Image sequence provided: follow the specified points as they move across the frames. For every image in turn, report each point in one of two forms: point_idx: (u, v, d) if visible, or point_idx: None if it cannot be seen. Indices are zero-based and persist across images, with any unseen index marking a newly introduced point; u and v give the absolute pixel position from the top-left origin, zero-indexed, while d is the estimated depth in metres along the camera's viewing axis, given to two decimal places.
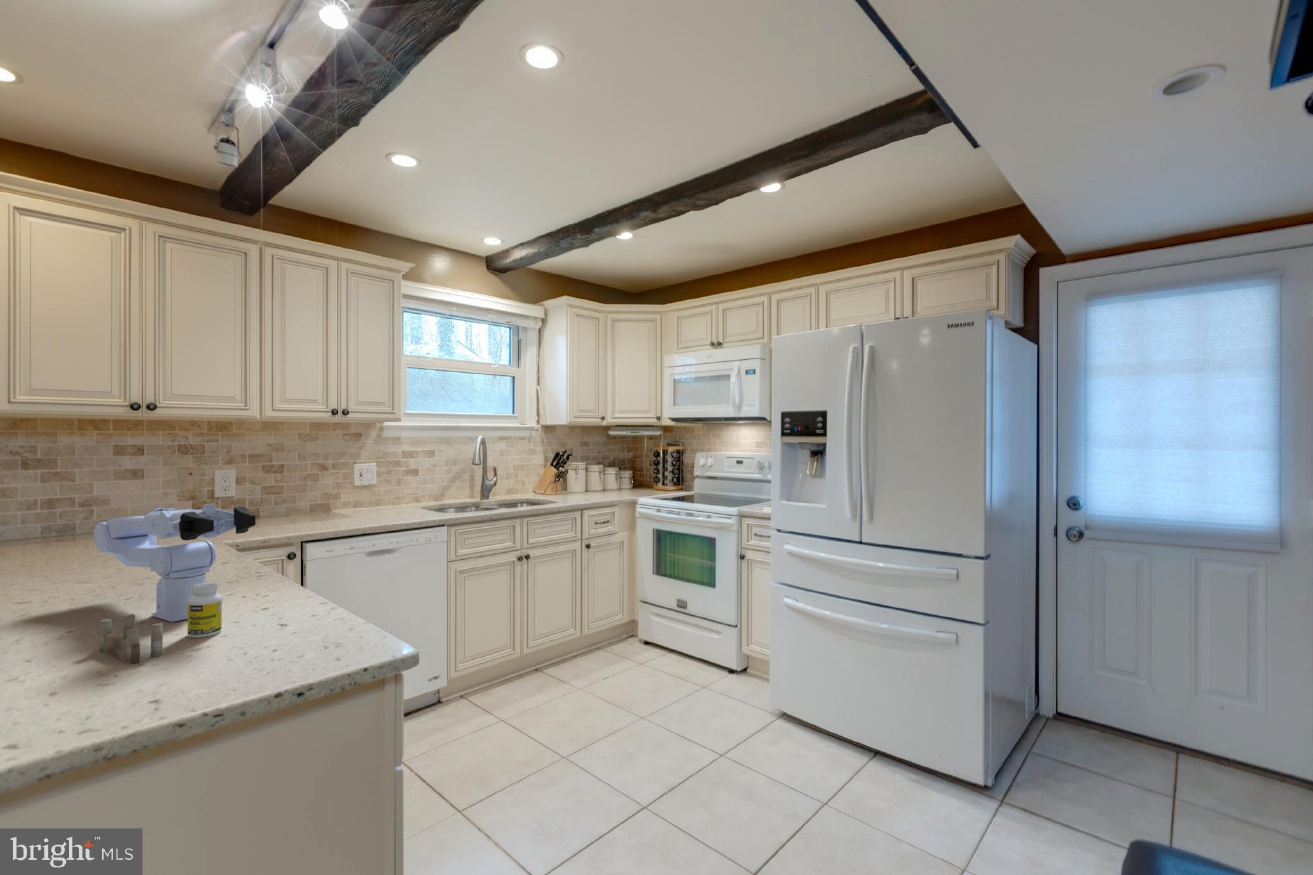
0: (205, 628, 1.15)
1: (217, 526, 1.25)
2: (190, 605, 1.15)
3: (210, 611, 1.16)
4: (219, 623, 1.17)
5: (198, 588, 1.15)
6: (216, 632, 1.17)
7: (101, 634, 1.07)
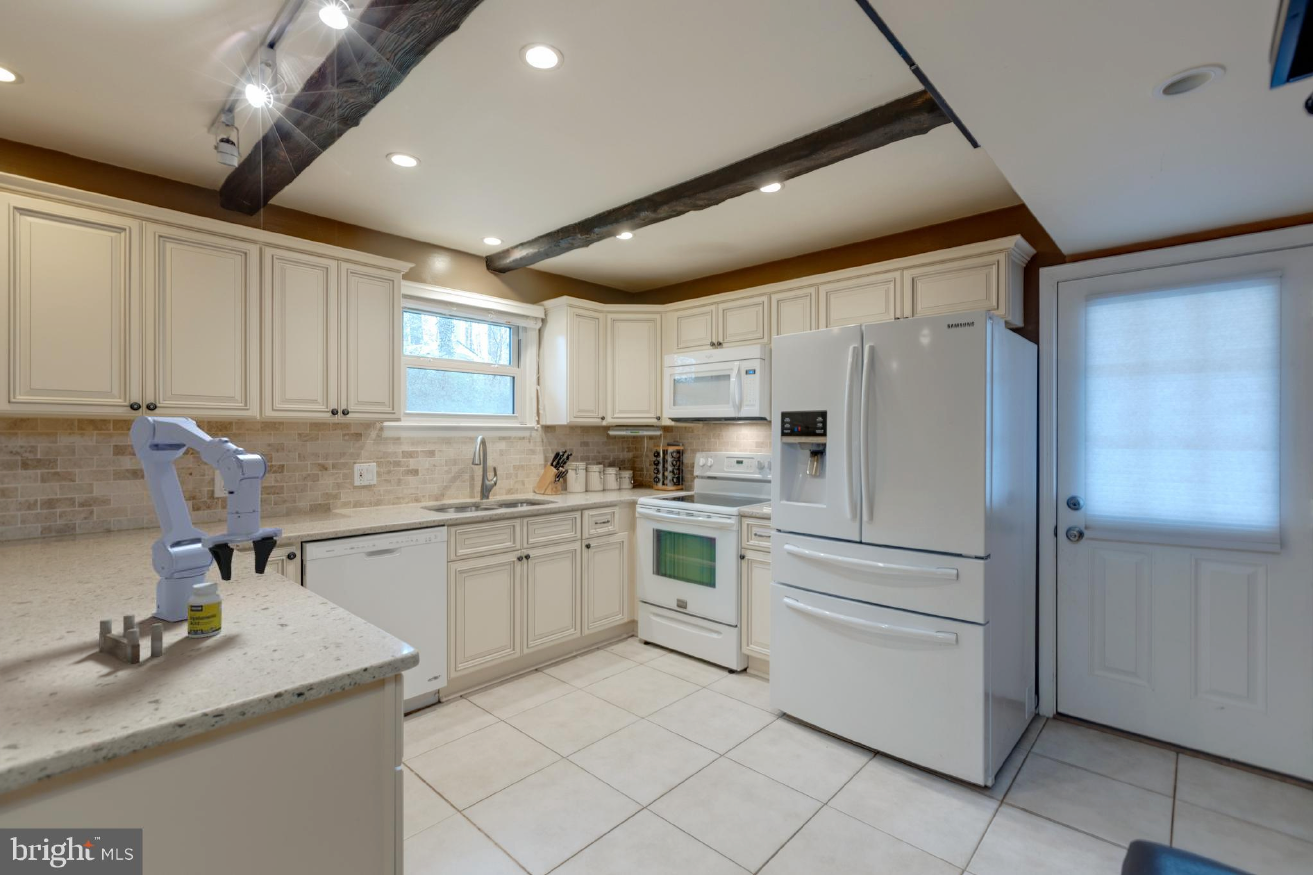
0: (205, 628, 1.15)
1: None
2: (190, 605, 1.15)
3: (210, 611, 1.16)
4: (218, 623, 1.17)
5: (198, 588, 1.15)
6: (216, 632, 1.17)
7: (101, 634, 1.07)
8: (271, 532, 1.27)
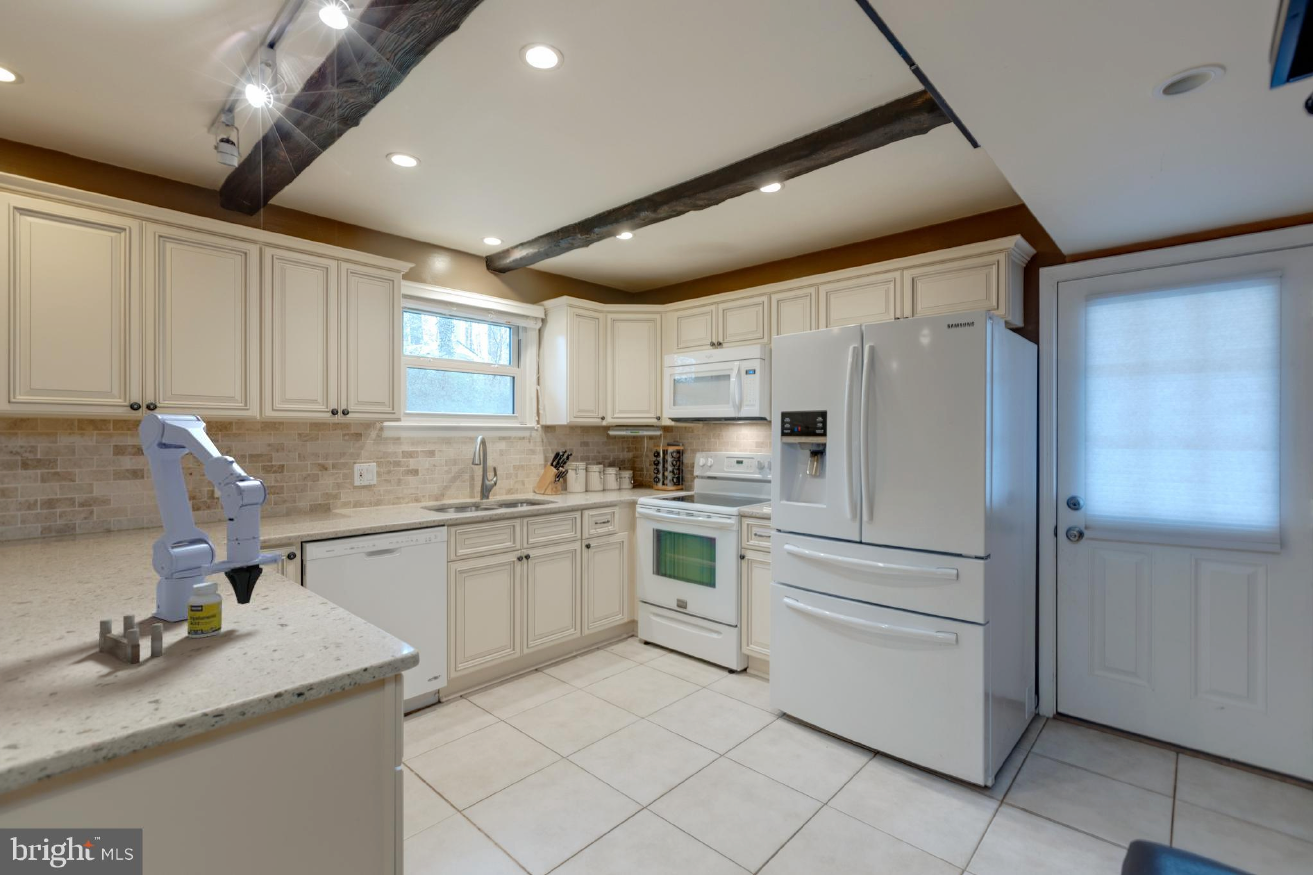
0: (205, 628, 1.15)
1: None
2: (190, 605, 1.15)
3: (210, 611, 1.16)
4: (219, 623, 1.17)
5: (198, 588, 1.15)
6: (216, 632, 1.17)
7: (101, 634, 1.07)
8: (271, 558, 1.27)
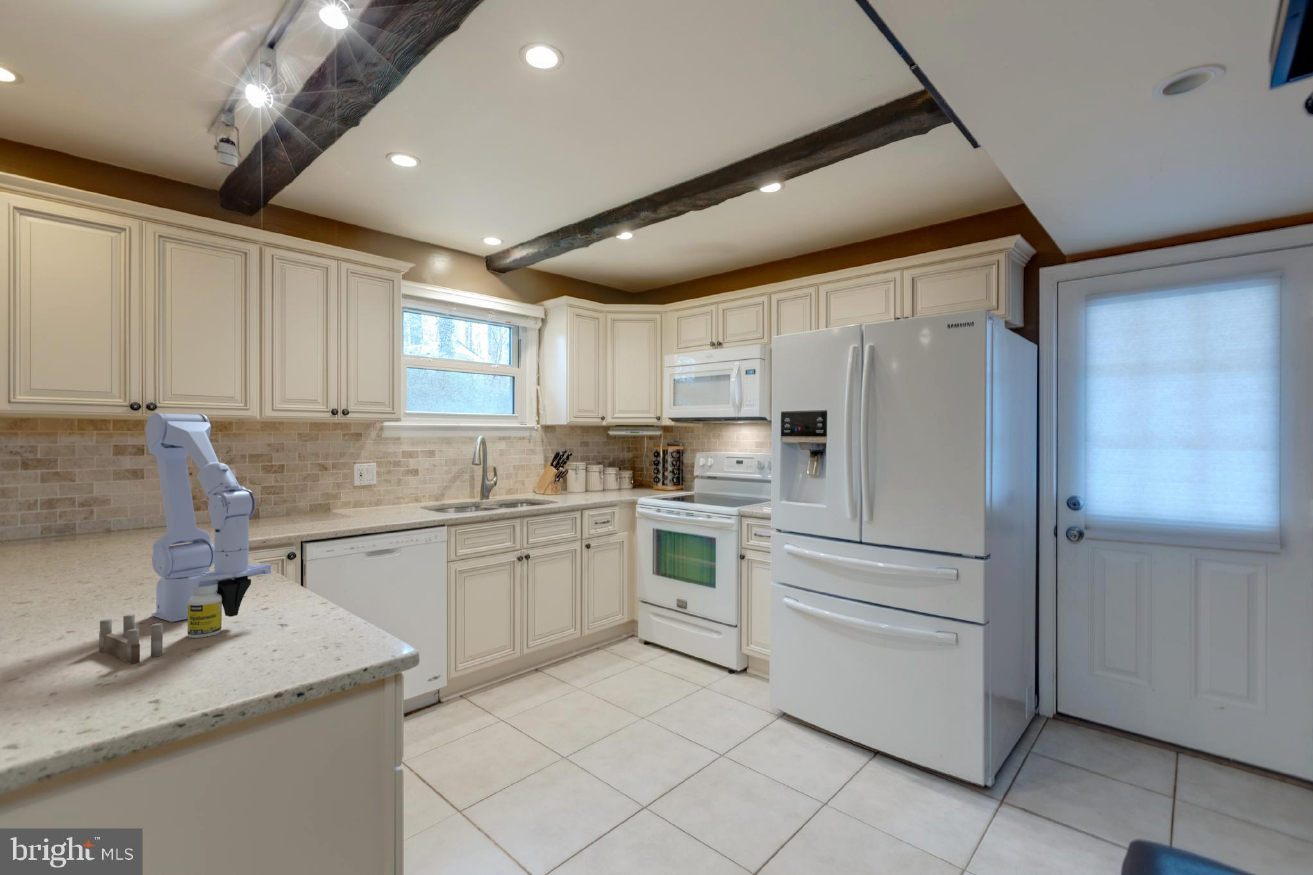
0: (205, 628, 1.15)
1: None
2: (190, 605, 1.15)
3: (210, 611, 1.16)
4: (219, 623, 1.17)
5: (198, 588, 1.15)
6: (216, 632, 1.17)
7: (101, 634, 1.07)
8: (260, 569, 1.25)
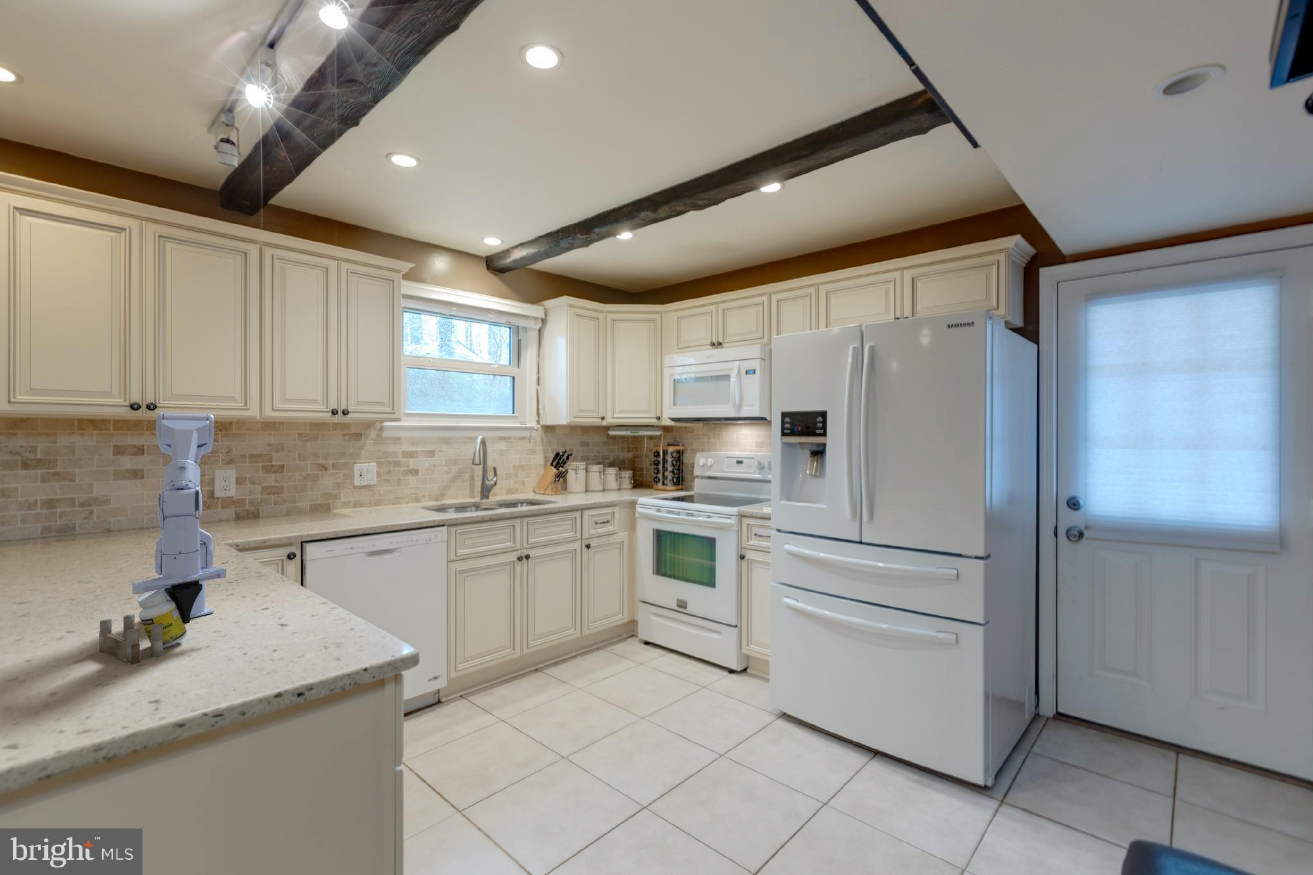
0: (164, 639, 1.09)
1: None
2: (140, 619, 1.08)
3: (163, 622, 1.09)
4: (179, 629, 1.11)
5: (142, 602, 1.07)
6: (179, 639, 1.11)
7: (101, 634, 1.07)
8: (213, 573, 1.17)
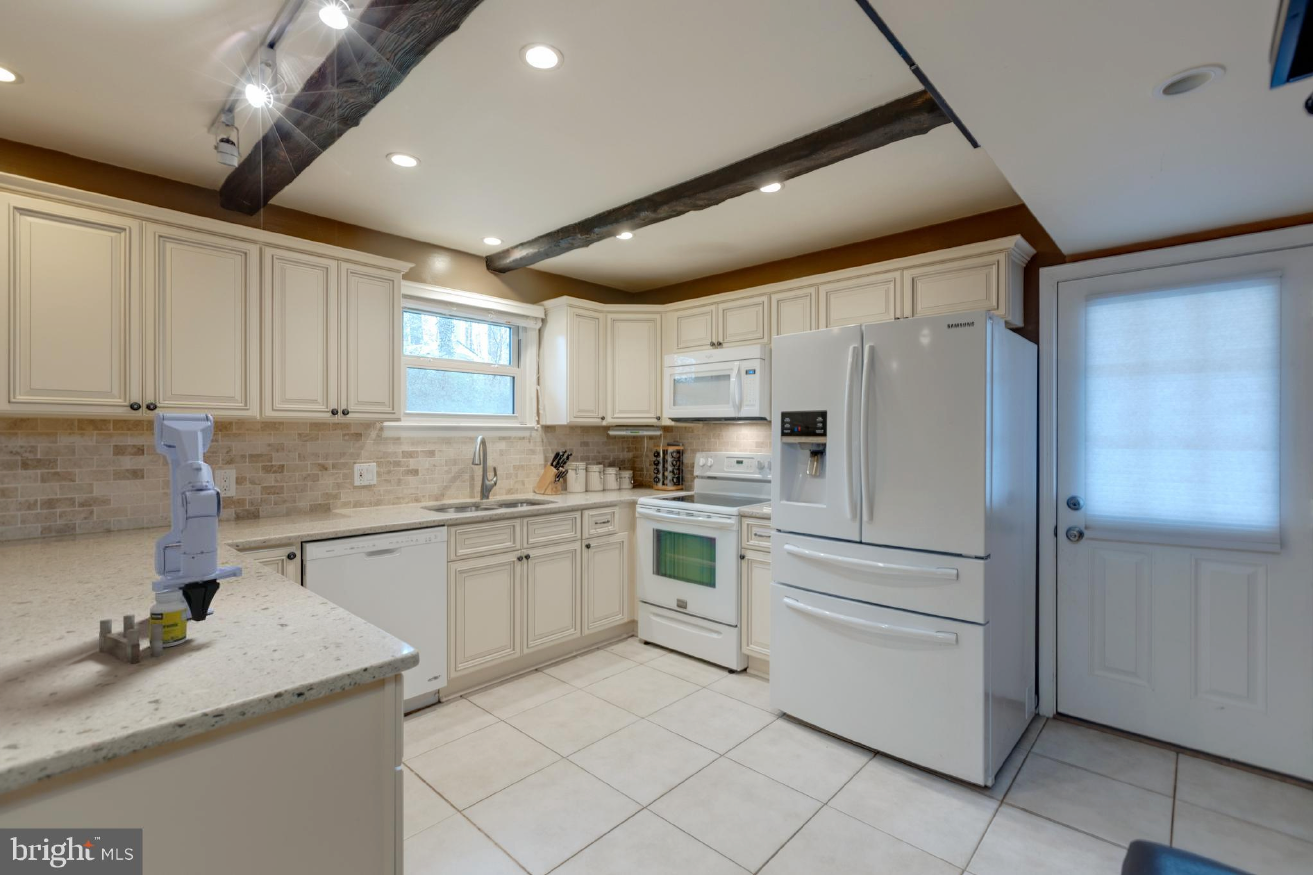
0: (165, 638, 1.09)
1: None
2: (151, 613, 1.09)
3: (171, 620, 1.10)
4: (181, 632, 1.11)
5: (159, 595, 1.10)
6: (178, 642, 1.11)
7: (101, 634, 1.07)
8: (230, 572, 1.20)
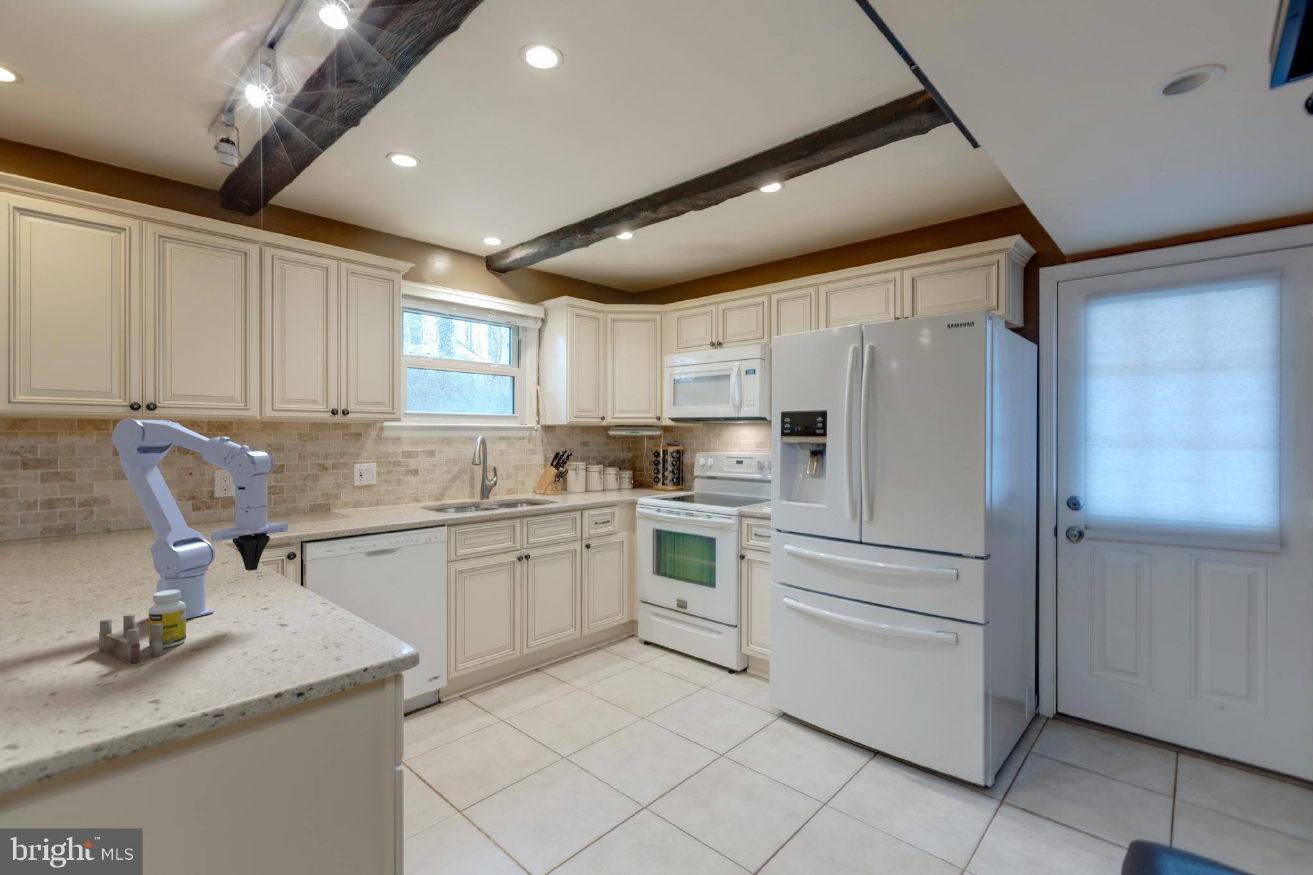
0: (165, 638, 1.09)
1: None
2: (150, 614, 1.09)
3: (170, 621, 1.10)
4: (181, 632, 1.11)
5: (157, 596, 1.09)
6: (178, 642, 1.11)
7: (101, 634, 1.07)
8: (278, 527, 1.31)
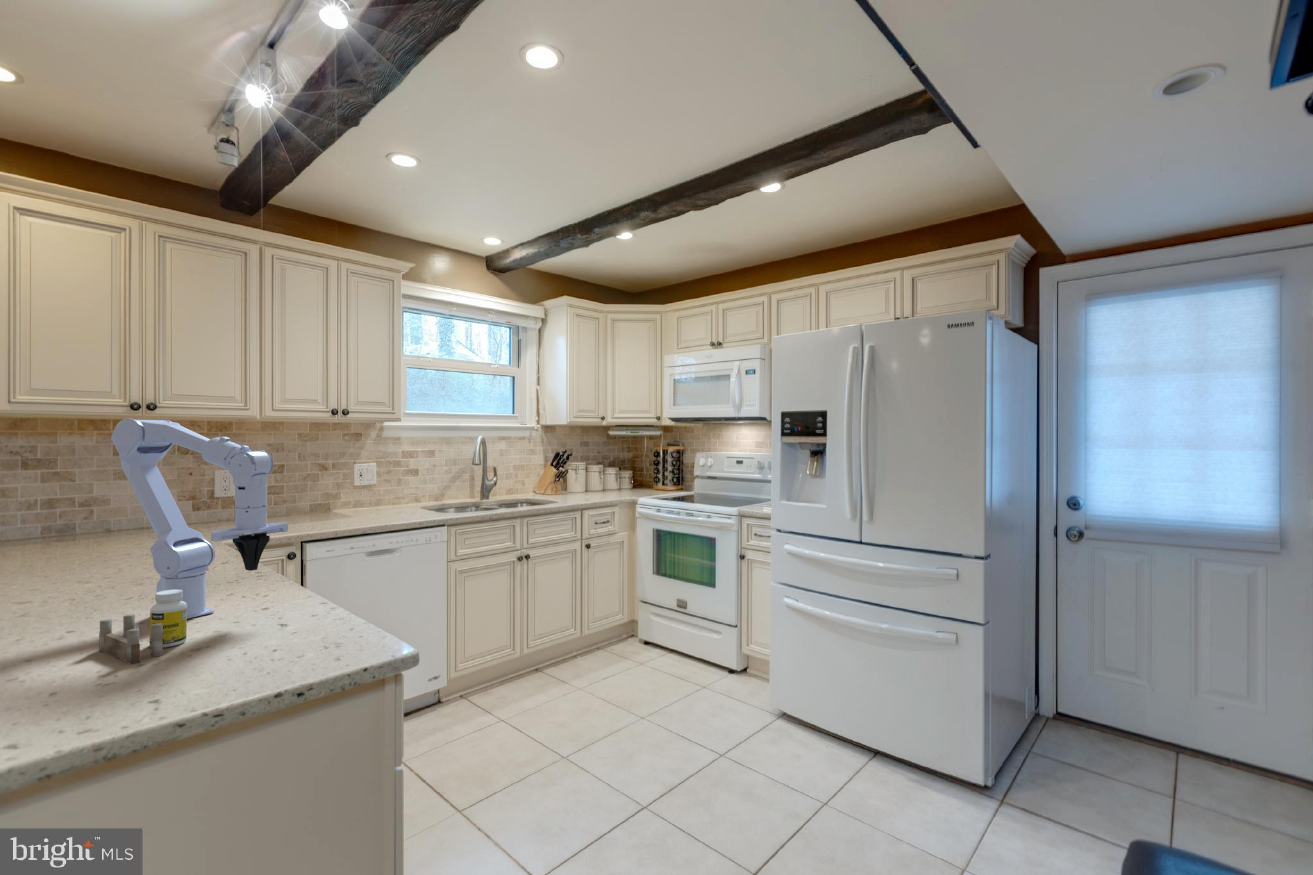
0: (166, 638, 1.09)
1: None
2: (151, 613, 1.09)
3: (172, 620, 1.10)
4: (182, 632, 1.11)
5: (160, 595, 1.10)
6: (179, 642, 1.11)
7: (101, 634, 1.07)
8: (278, 527, 1.31)
